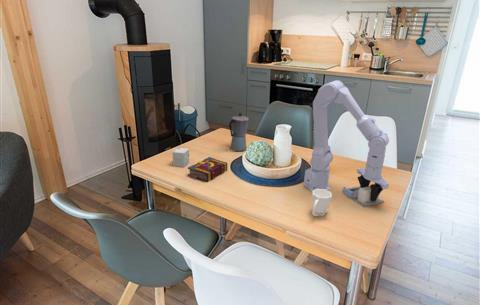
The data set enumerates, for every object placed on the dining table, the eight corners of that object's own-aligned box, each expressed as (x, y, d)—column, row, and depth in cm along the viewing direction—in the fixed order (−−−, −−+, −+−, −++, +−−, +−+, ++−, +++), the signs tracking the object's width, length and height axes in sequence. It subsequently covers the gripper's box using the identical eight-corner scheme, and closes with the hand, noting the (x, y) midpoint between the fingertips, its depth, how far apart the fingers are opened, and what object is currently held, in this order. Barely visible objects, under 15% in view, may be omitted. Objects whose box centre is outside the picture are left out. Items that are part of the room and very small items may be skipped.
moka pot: (252, 147, 178) (254, 112, 171) (238, 155, 166) (238, 118, 159) (238, 143, 183) (238, 109, 176) (223, 151, 171) (222, 115, 164)
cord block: (363, 204, 122) (365, 192, 120) (357, 199, 125) (359, 188, 123) (378, 201, 124) (380, 189, 122) (371, 196, 127) (374, 185, 125)
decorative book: (228, 171, 149) (228, 161, 147) (206, 184, 137) (205, 173, 135) (209, 165, 155) (208, 155, 153) (186, 177, 143) (185, 167, 141)
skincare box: (184, 167, 152) (183, 153, 149) (172, 166, 153) (171, 151, 150) (189, 162, 157) (189, 148, 154) (178, 161, 159) (177, 147, 156)
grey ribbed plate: (362, 208, 120) (364, 201, 119) (341, 192, 131) (342, 185, 130) (384, 203, 123) (385, 196, 122) (361, 188, 134) (362, 182, 133)
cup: (332, 211, 118) (335, 192, 115) (322, 224, 110) (324, 203, 107) (314, 205, 121) (316, 186, 118) (303, 217, 114) (305, 197, 111)
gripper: (397, 171, 114) (390, 204, 119) (369, 156, 126) (364, 187, 132) (382, 174, 112) (375, 207, 117) (354, 158, 124) (349, 189, 129)
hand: (368, 197), depth 124 cm, fingers open, 5 cm apart
